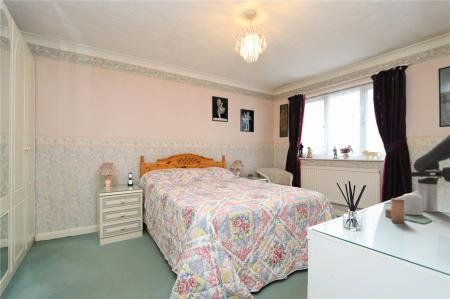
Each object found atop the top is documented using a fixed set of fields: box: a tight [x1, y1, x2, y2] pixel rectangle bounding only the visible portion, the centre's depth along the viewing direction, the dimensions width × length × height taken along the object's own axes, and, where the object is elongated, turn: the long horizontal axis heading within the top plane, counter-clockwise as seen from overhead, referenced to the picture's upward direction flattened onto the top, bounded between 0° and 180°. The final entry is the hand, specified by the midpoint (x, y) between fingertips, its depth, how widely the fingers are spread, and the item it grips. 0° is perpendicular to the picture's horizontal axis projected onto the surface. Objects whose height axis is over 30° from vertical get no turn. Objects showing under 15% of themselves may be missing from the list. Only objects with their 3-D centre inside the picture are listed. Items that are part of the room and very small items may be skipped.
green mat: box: [405, 215, 433, 225], centre depth 119 cm, size 10×10×1 cm
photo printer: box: [401, 193, 424, 216], centre depth 131 cm, size 10×4×12 cm, turn 84°
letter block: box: [384, 208, 391, 218], centre depth 126 cm, size 4×4×4 cm
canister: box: [390, 197, 406, 225], centre depth 117 cm, size 6×6×12 cm
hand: (415, 174), depth 110 cm, fingers open, 8 cm apart
